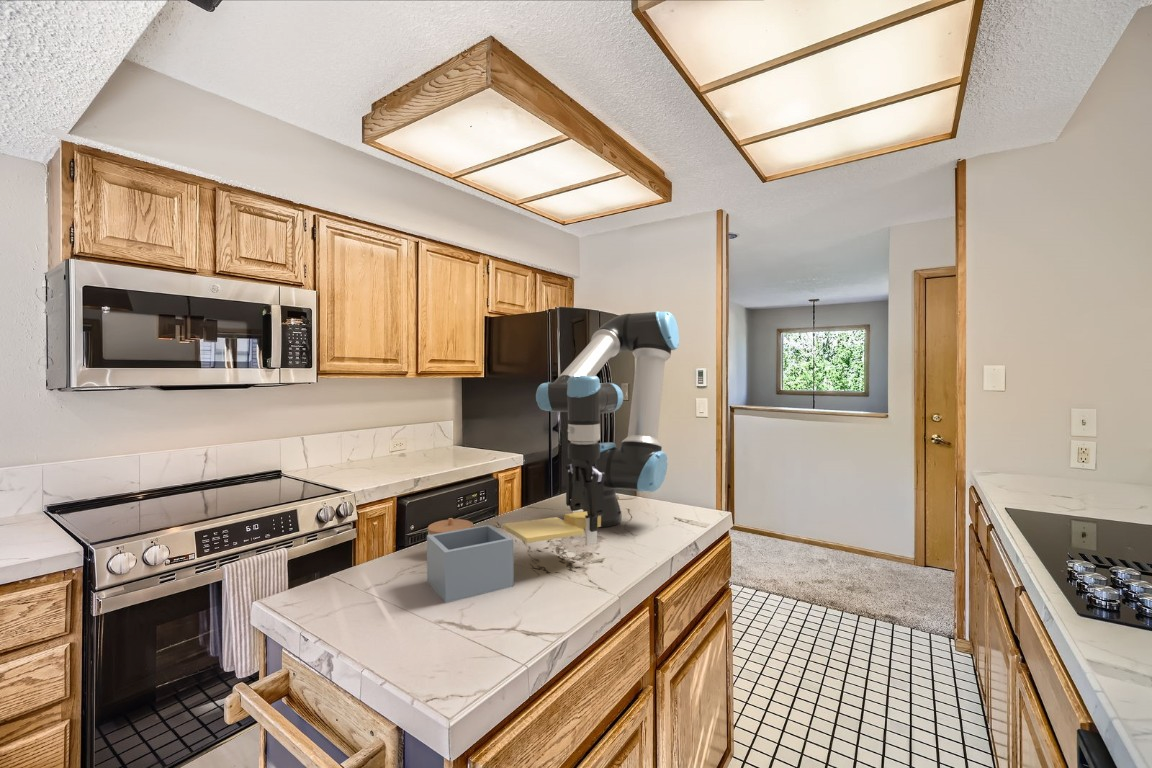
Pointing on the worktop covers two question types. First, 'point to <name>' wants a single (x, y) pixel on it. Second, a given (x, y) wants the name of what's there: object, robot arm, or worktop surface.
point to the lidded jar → (448, 526)
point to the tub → (469, 562)
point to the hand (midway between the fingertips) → (584, 540)
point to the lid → (549, 527)
